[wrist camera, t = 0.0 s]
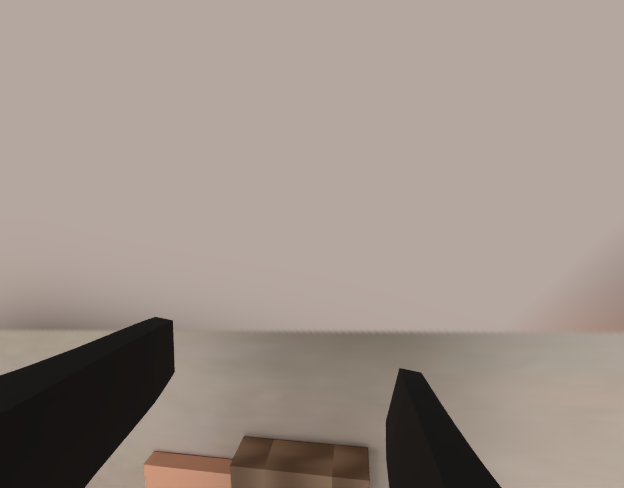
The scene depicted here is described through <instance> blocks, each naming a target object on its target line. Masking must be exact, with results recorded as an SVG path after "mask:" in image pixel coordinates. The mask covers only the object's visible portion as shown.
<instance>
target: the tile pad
mask: <svg viewBox="0 0 624 488" xmlns="http://www.w3.org/2000/svg"><path fill="white" fill-rule="evenodd" d="M231 462H232V460H231V459H222V458H212V457H202V456H193V455H183V454H174V453H164V452H153V454H152V455H151V456H150V457H149V458H148V460H147V461H146V462H145V463H144V464H143V466H144V474H145V483H146V488H231V477H230V464H231Z"/></svg>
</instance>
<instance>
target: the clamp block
mask: <svg viewBox="0 0 624 488" xmlns="http://www.w3.org/2000/svg"><path fill="white" fill-rule="evenodd" d="M230 477H231V488H369V460H368V448H363V447H352V446H341V445H330V444H319V443H308V442H297V441H286V440H275V439H264V438H253V437H244V438H243V440H242V442H241V444H240V446H239V448H238V450H237V452H236V454H235V456H234V458H233V460H232V462H231V464H230Z"/></svg>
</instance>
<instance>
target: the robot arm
mask: <svg viewBox="0 0 624 488" xmlns="http://www.w3.org/2000/svg"><path fill="white" fill-rule="evenodd" d="M174 372H175V368H174V341H173V321H172V320H168V319H163V318H158V317H154V318H151V319H148V320H145V321H142V322H140V323H137V324H134V325H132V326H130V327H127V328H124V329H122V330H120V331H117V332H115V333H112V334H110V335H107V336H105V337H102V338H100V339H97V340H95V341H92V342H90V343H87V344H85V345H82V346H80V347H78V348H75V349H72V350H70V351H67V352H64V353H62V354H59V355H56V356H54V357H51V358H48V359H46V360H43V361H40V362H38V363H35V364H32V365H30V366H27V367H24V368H21V369H18V370H15V371H12V372H9V373H6V374H3V375H0V488H85V486H86V485H87V484H88V483H89V481H90V480H91V479H92V478H93V476H94V475H95V474H96V473H97V471H98V470H99V469H100V468H101V467H102V466H103V464H104V463H105V462H106V461H107V460H108V458H109V457H110V456H111V455H112V454H113V452H114V451H115V450H116V449H117V448H118V446H119V445H120V444H121V443H122V442H123V440H124V439H125V438H126V437H127V436H128V434H129V433H130V432H131V431H132V430H133V428H134V427H135V426H136V425H137V424H138V422H139V421H140V420H141V419H142V418H143V416H144V415H145V414H146V413H147V412H148V410H149V409H150V408H151V407H152V405H153V404H154V403H155V401H156V400H157V399H158V397H159V396H160V394H161V393H162V391H163V390H164V388H165V387H166V385H167V383H168V382H169V380H170V379H171V377H172V375H173V374H174ZM386 460H387V470H388V479H389V488H501V487H500V485H499V484H498V483H497V482H496V480H495V479H494V478H493V476H492V475H491V474H490V472H489V471H488V470H487V469H486V467H485V466H484V465H483V463H482V462H481V461H480V459H479V458H478V456H477V455H476V454H475V452H474V451H473V450H472V448H471V447H470V445H469V444H468V442H467V441H466V440H465V438H464V437H463V435H462V434H461V432H460V431H459V430H458V428H457V427H456V425H455V424H454V422H453V421H452V419H451V418H450V416H449V415H448V413H447V412H446V410H445V409H444V407H443V406H442V404H441V403H440V401H439V400H438V398H437V396H436V395H435V393H434V392H433V390H432V389H431V387H430V386H429V384H428V382H427V381H426V379H425V378H424V376H423V375H422V373H420V372H415V371H410V370H406V369H401V368H399V372H398V376H397V380H396V384H395V388H394V392H393V396H392V400H391V404H390V408H389V411H388V415H387V419H386Z"/></svg>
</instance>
